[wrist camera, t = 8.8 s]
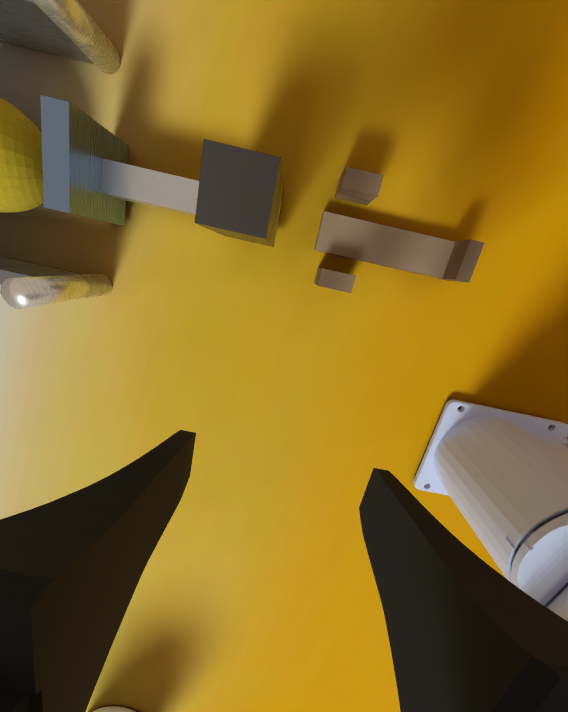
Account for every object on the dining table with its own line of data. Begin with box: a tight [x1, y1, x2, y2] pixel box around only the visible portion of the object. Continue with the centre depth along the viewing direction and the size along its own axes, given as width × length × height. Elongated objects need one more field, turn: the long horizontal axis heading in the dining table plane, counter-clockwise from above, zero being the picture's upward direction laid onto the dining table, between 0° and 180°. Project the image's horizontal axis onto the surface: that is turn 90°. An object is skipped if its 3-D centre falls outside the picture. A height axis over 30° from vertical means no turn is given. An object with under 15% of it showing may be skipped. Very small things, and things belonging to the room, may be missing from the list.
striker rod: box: [40, 95, 284, 247], centre depth 15 cm, size 11×4×7 cm, turn 78°
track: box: [314, 166, 484, 293], centre depth 18 cm, size 9×6×2 cm
